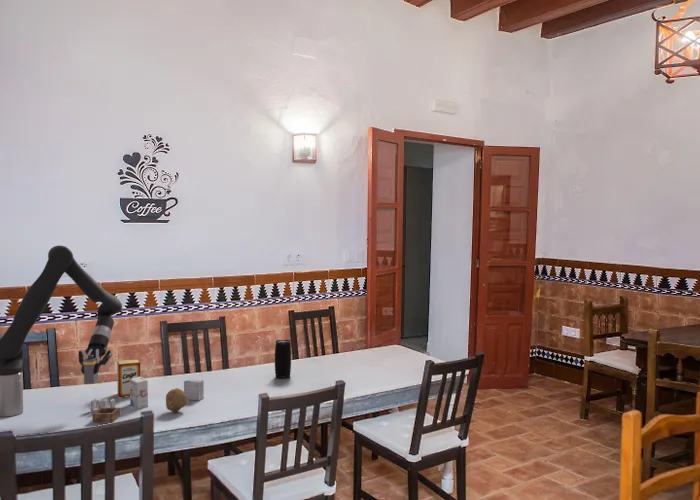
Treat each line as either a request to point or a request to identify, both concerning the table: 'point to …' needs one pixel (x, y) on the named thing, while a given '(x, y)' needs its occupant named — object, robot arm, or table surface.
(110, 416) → the open wooden box
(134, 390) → the ink box
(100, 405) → the clip
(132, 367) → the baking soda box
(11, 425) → the table surface
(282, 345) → the portable speaker
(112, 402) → the clip
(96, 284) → the robot arm
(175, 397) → the natural sponge
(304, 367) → the table surface
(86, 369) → the gray square bottle
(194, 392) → the medicine box
